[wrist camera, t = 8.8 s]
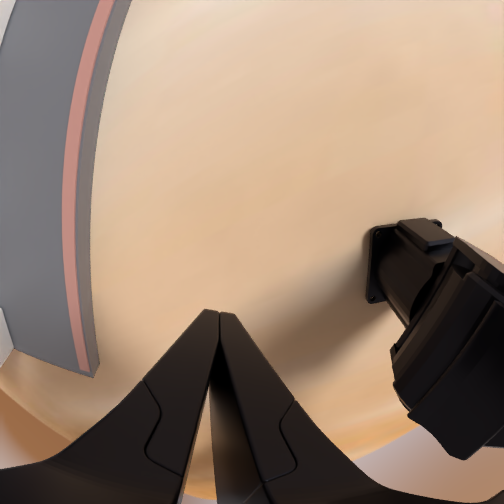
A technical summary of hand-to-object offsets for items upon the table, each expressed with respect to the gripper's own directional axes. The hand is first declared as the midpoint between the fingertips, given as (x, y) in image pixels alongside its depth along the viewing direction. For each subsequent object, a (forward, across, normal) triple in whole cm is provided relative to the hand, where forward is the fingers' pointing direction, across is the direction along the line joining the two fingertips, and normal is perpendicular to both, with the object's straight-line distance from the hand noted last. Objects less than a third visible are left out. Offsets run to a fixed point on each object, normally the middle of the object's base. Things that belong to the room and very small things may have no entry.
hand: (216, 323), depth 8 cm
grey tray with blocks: (+12, +16, +2) cm, 20 cm away
